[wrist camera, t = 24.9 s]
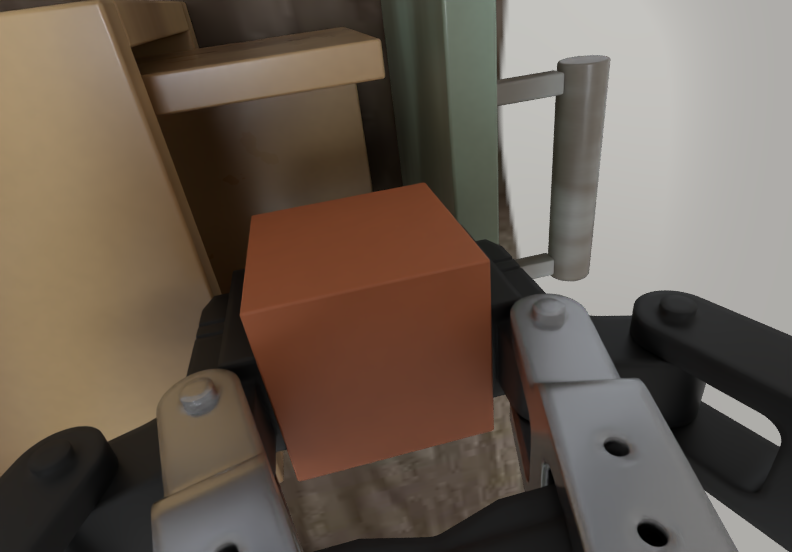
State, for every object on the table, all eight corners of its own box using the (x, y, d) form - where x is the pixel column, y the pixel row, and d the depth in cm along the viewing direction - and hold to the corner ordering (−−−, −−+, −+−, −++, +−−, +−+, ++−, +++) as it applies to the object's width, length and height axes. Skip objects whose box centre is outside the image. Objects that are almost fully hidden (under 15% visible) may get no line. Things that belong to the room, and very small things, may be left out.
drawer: (538, -28, 16) (686, -45, 10) (530, 265, 22) (621, 358, 16) (40, 44, 14) (-122, 72, 8) (176, 343, 20) (137, 481, 14)
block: (438, 320, 13) (494, 431, 10) (292, 354, 13) (298, 483, 9) (425, 181, 11) (491, 259, 8) (250, 214, 11) (238, 314, 7)
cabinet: (185, 1, 15) (100, -3, 8) (281, 320, 22) (284, 482, 14) (-269, 63, 14) (-901, 132, 6) (-19, 387, 20) (-188, 607, 13)
